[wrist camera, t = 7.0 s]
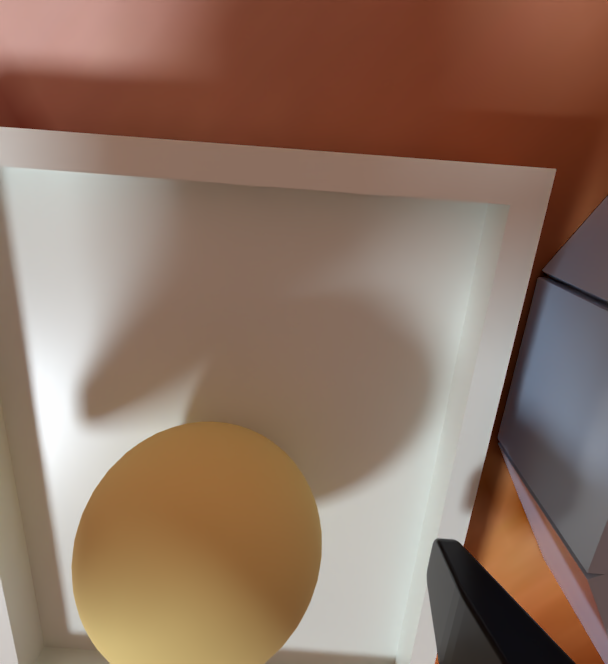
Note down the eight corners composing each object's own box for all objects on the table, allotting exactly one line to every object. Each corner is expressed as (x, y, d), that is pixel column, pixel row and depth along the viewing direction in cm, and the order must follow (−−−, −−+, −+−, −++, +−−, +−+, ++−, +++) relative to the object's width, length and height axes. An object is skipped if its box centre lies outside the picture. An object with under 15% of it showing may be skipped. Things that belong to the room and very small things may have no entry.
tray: (406, 667, 13) (417, 730, 12) (37, 639, 13) (3, 698, 12) (515, 168, 9) (556, 168, 7) (-56, 125, 9) (-134, 116, 7)
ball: (307, 544, 11) (320, 758, 7) (128, 539, 11) (36, 760, 7) (321, 386, 10) (348, 545, 6) (116, 377, 10) (-11, 537, 5)
